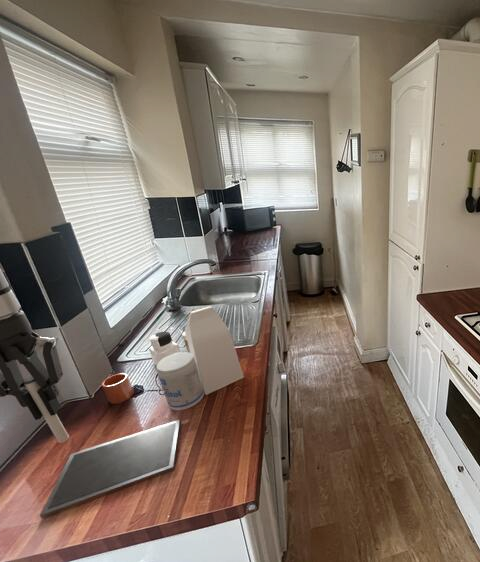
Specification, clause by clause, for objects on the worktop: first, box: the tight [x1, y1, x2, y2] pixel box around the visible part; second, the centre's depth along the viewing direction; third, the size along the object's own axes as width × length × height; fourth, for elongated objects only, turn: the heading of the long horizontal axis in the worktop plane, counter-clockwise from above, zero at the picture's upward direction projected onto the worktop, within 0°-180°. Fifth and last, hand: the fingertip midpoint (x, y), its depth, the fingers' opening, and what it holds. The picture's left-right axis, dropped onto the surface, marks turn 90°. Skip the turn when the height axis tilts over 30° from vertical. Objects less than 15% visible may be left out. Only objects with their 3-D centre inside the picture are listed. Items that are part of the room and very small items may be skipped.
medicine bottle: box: [148, 331, 181, 367], centre depth 110 cm, size 7×7×12 cm
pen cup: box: [101, 372, 135, 404], centre depth 95 cm, size 6×6×7 cm
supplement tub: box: [156, 351, 205, 411], centre depth 92 cm, size 10×10×15 cm
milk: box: [184, 305, 245, 396], centre depth 99 cm, size 12×12×26 cm
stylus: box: [23, 376, 70, 444], centre depth 66 cm, size 2×2×17 cm
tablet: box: [39, 419, 182, 520], centre depth 75 cm, size 24×16×1 cm, turn 115°
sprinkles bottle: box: [181, 331, 190, 353], centre depth 109 cm, size 5×5×13 cm
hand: (48, 412), depth 66 cm, fingers closed on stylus, 2 cm apart
